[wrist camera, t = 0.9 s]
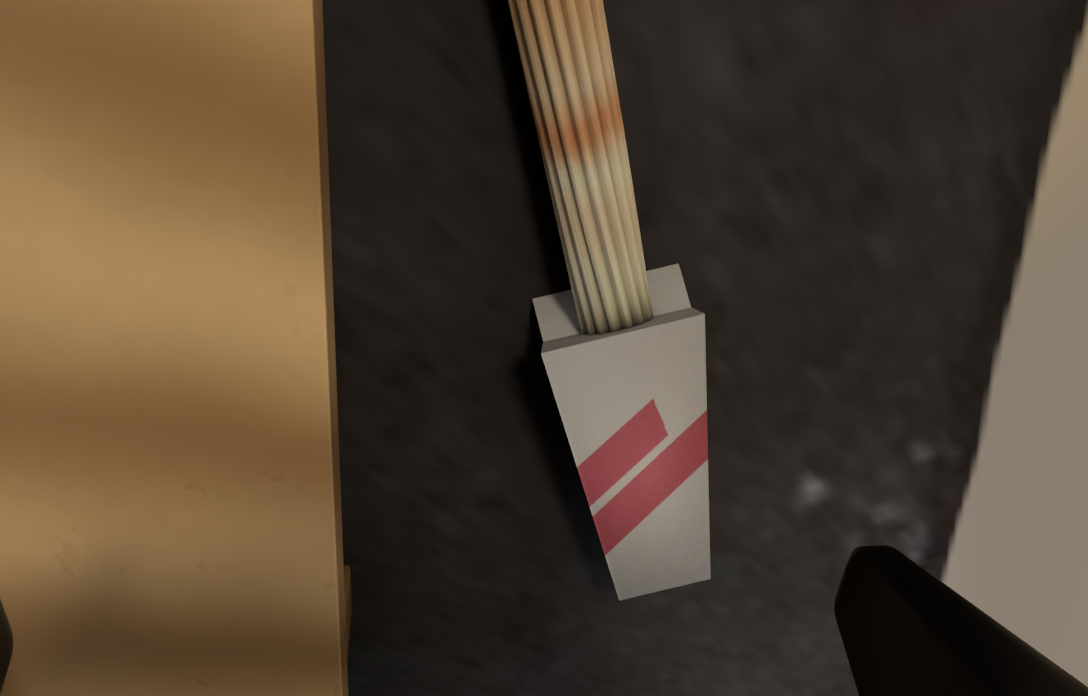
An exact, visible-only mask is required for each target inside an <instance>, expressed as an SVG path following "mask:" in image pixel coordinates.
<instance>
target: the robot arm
mask: <svg viewBox="0 0 1088 696" xmlns="http://www.w3.org/2000/svg"><path fill="white" fill-rule="evenodd" d="M834 610H835V617H836V621H837V624H838V627H839V631H840V634H841V637H842V640H843V644H844V647H845V650H846V654H847V657H848V660H849V663H850V667H851V670H852V673H853V677H854V680H855V683H856V686H857V690H858V693H859V696H1088V687H1087V686H1085V685H1084V684H1083V683H1081V682H1080V681H1078V680H1077V679H1076V678H1074V677H1073V676H1071V675H1070V674H1069V673H1067V672H1066V671H1064V670H1063V669H1062V668H1060V667H1059V666H1058V665H1056V664H1055V663H1053V662H1052V661H1051V660H1049V659H1048V658H1046V657H1045V656H1044V655H1042V654H1041V653H1040V652H1038V651H1037V650H1035V649H1034V648H1033V647H1031V646H1030V645H1028V644H1027V643H1026V642H1024V641H1023V640H1021V639H1020V638H1019V637H1017V636H1016V635H1015V634H1013V633H1012V632H1010V631H1009V630H1007V629H1006V628H1005V627H1003V626H1002V625H1001V624H999V623H998V622H996V621H995V620H994V619H992V618H991V617H990V616H988V615H987V614H985V613H984V612H983V611H981V610H980V609H978V608H977V607H976V606H974V605H973V604H972V603H970V602H969V601H967V600H966V599H965V598H963V597H962V596H960V595H959V594H958V593H956V592H955V591H954V590H952V589H951V588H949V587H948V586H947V585H945V584H944V583H942V582H941V581H940V580H938V579H937V578H936V577H934V576H933V575H931V574H930V573H929V572H927V571H926V570H924V569H923V568H922V567H920V566H919V565H917V564H916V563H915V562H913V561H912V560H911V559H909V558H908V557H906V556H905V555H904V554H902V553H901V552H899V551H898V550H896V549H895V548H893V547H890V546H860V547H857V548H855V549H854V550H853V551H852V552H851V554H850V556H849V558H848V561H847V564H846V567H845V570H844V573H843V575H842V578H841V581H840V584H839V587H838V590H837V593H836V596H835V603H834ZM12 652H13V633H12V629H11V627H10V624H9V621H8V618H7V615H6V613H5V610H4V607H3V604H2V601H1V599H0V695H1V691H2V688H3V685H4V681H5V678H6V674H7V671H8V668H9V664H10V661H11V657H12Z"/></svg>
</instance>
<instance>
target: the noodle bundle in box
mask: <svg viewBox="0 0 1088 696" xmlns="http://www.w3.org/2000/svg"><path fill="white" fill-rule="evenodd" d="M508 3H509V7H510V12H511V17H512V21H513V26H514V30H515V35H516V40H517V44H518V49H519V53H520V58H521V63H522V67H523V72H524V76H525V81H526V86H527V90H528V95H529V99H530V104H531V108H532V113H533V117H534V122H535V126H536V131H537V135H538V140H539V144H540V149H541V153H542V158H543V162H544V167H545V171H546V176H547V180H548V185H549V189H550V194H551V198H552V203H553V207H554V212H555V216H556V221H557V225H558V230H559V234H560V239H561V244H562V248H563V253H564V257H565V261H566V266H567V270H568V275H569V279H570V284H571V288H572V289H571V290H567V291H563V292H559V293H555V294H550V295H546V296H542V297H538V298H534V299H532V300H533V304H534V308H535V312H536V316H537V319H538V323H539V327H540V331H541V335H542V339H543V345H542V350H541V356H542V359H543V362H544V365H545V368H546V371H547V374H548V378H549V381H550V384H551V387H552V390H553V393H554V397H555V400H556V403H557V406H558V409H559V412H560V415H561V419H562V422H563V425H564V428H565V431H566V434H567V438H568V441H569V444H570V447H571V450H572V453H573V456H574V460H575V463H576V466H577V469H578V472H579V475H580V478H581V482H582V485H583V488H584V491H585V494H586V497H587V501H588V504H589V507H590V510H591V513H592V516H593V519H594V523H595V526H596V529H597V532H598V535H599V538H600V542H601V545H602V548H603V551H604V554H605V557H606V560H607V564H608V567H609V570H610V573H611V576H612V579H613V582H614V586H615V589H616V592H617V595H618V598H619V600H623V599H628V598H632V597H636V596H640V595H644V594H649V593H653V592H657V591H661V590H665V589H670V588H674V587H678V586H682V585H686V584H691V583H695V582H699V581H703V580H707V579H710V533H709V487H708V441H707V395H706V348H705V314H704V313H702V312H700V311H698V310H695V309H693V308H691V305H690V302H689V298H688V295H687V291H686V288H685V284H684V281H683V277H682V274H681V270H680V267H679V263H678V264H674V265H670V266H666V267H662V268H658V269H653V270H649V271H646V268H645V261H644V255H643V248H642V242H641V236H640V229H639V223H638V216H637V210H636V203H635V197H634V190H633V184H632V178H631V171H630V165H629V158H628V152H627V146H626V140H625V134H624V128H623V122H622V116H621V109H620V103H619V97H618V91H617V85H616V79H615V73H614V67H613V60H612V54H611V48H610V42H609V36H608V30H607V24H606V18H605V12H604V5H603V0H508Z"/></svg>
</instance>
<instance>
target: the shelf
mask: <svg viewBox="0 0 1088 696" xmlns="http://www.w3.org/2000/svg"><path fill="white" fill-rule="evenodd" d="M0 599H1V601H2V604H3V607H4V610H5V613H6V615H7V618H8V621H9V624H10V627H11V629H12V633H13V652H12V657H11V661H10V664H9V668H8V671H7V674H6V678H5V681H4V685H3V688H2V691H1V695H0V696H348V673H347V658H348V647H349V636H350V625H351V614H352V600H351V569H350V567H349V566H348V565H344V566H343V540H342V513H341V487H340V460H339V433H338V407H337V380H336V353H335V327H334V300H333V274H332V247H331V220H330V194H329V167H328V140H327V114H326V87H325V61H324V34H323V7H322V0H0Z"/></svg>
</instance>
